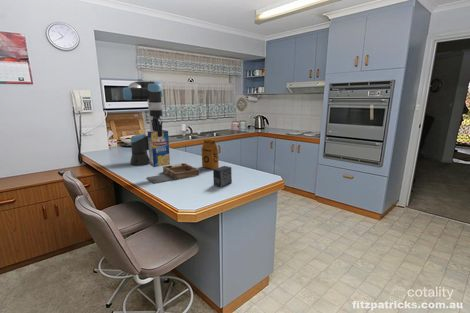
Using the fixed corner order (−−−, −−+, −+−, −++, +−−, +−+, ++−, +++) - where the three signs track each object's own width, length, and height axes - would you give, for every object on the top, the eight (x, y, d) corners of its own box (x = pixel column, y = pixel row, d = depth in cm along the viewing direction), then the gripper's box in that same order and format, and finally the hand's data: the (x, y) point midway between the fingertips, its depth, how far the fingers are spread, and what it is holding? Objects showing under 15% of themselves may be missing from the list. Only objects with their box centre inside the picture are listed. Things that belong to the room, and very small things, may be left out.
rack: (163, 171, 181) (163, 166, 180) (184, 168, 191) (184, 163, 190) (176, 179, 164) (175, 173, 163) (199, 175, 174) (198, 169, 173)
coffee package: (211, 170, 185) (211, 141, 180) (200, 167, 193) (199, 139, 188) (220, 167, 192) (220, 139, 187) (209, 165, 200) (209, 137, 195)
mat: (146, 178, 167) (146, 177, 167) (166, 174, 175) (166, 173, 175) (153, 183, 156) (153, 182, 156) (175, 179, 164) (175, 178, 164)
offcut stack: (168, 171, 182) (168, 165, 181) (181, 169, 187) (181, 164, 186) (170, 173, 179) (169, 167, 178) (183, 171, 184) (183, 165, 183)
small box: (224, 181, 162) (224, 165, 159) (232, 183, 158) (232, 167, 155) (212, 185, 154) (212, 168, 151) (220, 187, 150) (220, 170, 147)
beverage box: (149, 165, 163) (147, 131, 158) (166, 162, 169) (164, 129, 164) (153, 167, 157) (150, 132, 152) (170, 164, 164) (168, 131, 159)
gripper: (145, 109, 159) (148, 146, 164) (154, 110, 147) (156, 149, 152) (157, 109, 163) (159, 144, 168) (166, 109, 152) (168, 148, 157)
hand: (158, 146), depth 160 cm, fingers closed on beverage box, 2 cm apart
